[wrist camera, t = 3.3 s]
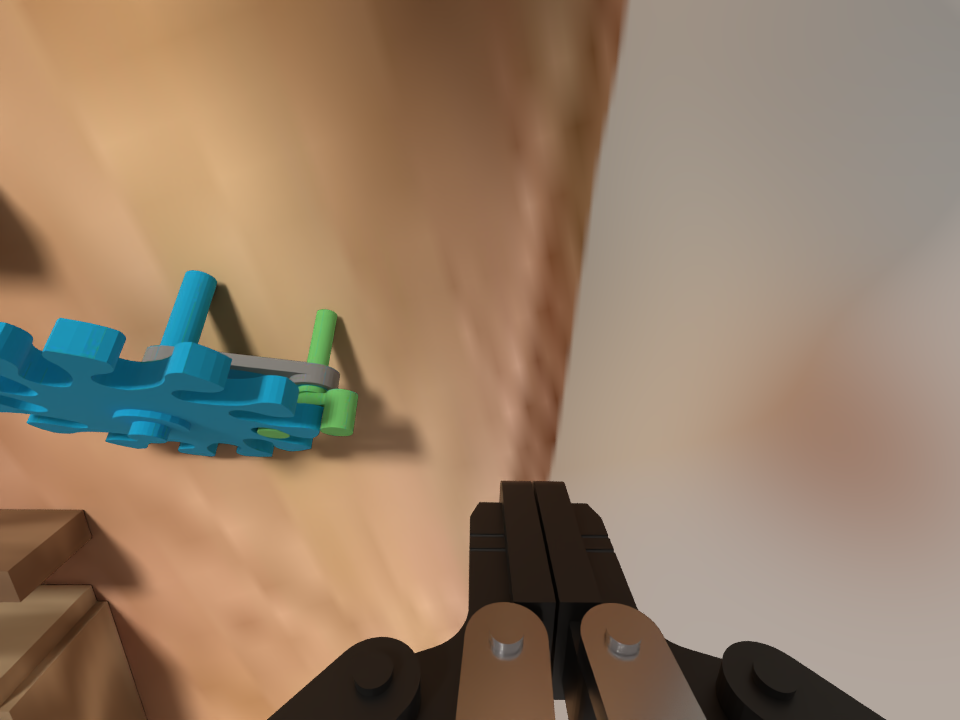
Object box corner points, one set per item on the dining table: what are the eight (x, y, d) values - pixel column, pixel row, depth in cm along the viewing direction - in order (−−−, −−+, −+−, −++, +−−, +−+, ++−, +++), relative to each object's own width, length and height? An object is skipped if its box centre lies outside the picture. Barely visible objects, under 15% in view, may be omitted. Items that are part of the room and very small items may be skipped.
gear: (52, 460, 18) (-252, 349, 9) (108, 324, 20) (-84, 130, 11) (350, 480, 20) (349, 409, 11) (368, 356, 22) (378, 216, 14)
